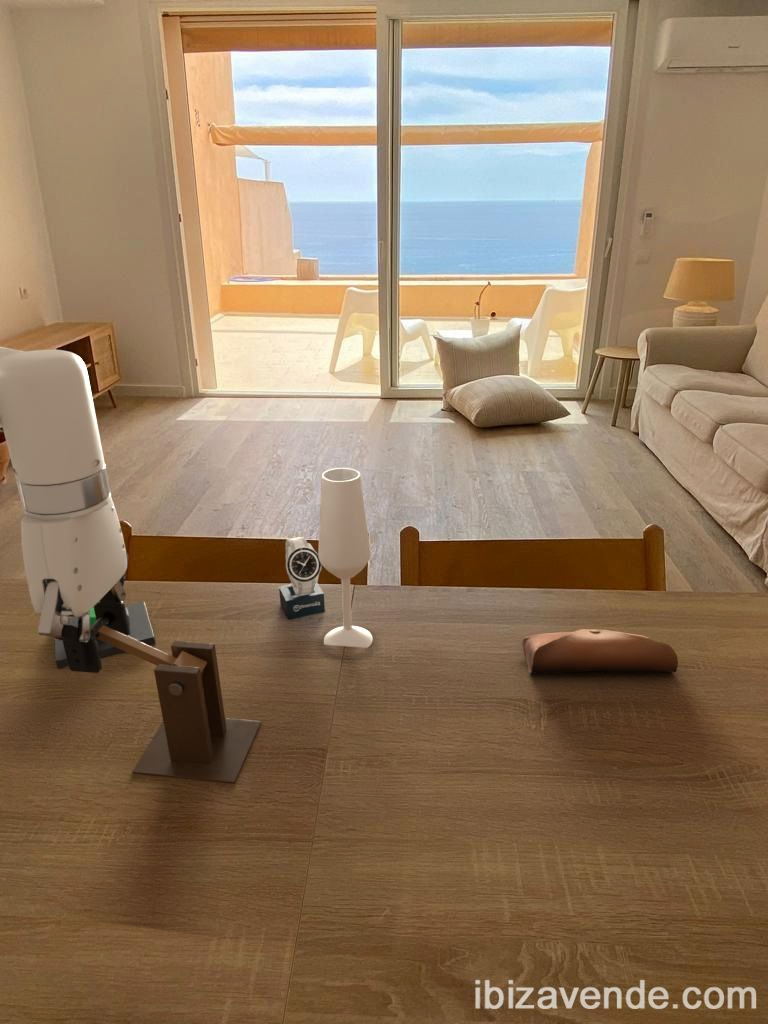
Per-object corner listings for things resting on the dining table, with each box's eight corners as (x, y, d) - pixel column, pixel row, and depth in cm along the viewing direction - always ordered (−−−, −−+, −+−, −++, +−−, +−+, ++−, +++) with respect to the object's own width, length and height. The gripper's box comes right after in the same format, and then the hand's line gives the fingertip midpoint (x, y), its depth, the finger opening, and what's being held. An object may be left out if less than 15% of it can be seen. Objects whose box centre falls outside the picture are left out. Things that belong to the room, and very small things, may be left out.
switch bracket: (133, 780, 72) (111, 680, 66) (169, 721, 80) (153, 627, 75) (235, 791, 70) (221, 689, 65) (262, 729, 78) (251, 634, 73)
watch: (291, 627, 97) (285, 557, 93) (277, 599, 104) (271, 533, 99) (329, 618, 99) (325, 550, 94) (313, 591, 106) (309, 526, 101)
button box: (59, 675, 88) (52, 649, 86) (56, 634, 96) (50, 610, 95) (156, 650, 92) (152, 625, 91) (146, 613, 101) (142, 590, 99)
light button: (86, 631, 90) (83, 620, 90) (84, 616, 94) (81, 605, 93) (118, 623, 92) (115, 612, 91) (115, 609, 95) (112, 598, 95)
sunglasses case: (653, 635, 93) (669, 612, 88) (665, 685, 89) (683, 665, 84) (518, 637, 93) (526, 614, 88) (525, 687, 89) (533, 667, 84)
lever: (75, 650, 68) (80, 633, 67) (100, 622, 73) (106, 605, 72) (186, 700, 69) (193, 684, 68) (205, 669, 73) (212, 653, 72)
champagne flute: (320, 628, 97) (310, 467, 87) (368, 623, 98) (363, 463, 88) (326, 657, 91) (316, 487, 81) (377, 650, 92) (373, 482, 82)
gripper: (77, 456, 72) (108, 606, 79) (-36, 527, 56) (16, 704, 64) (145, 458, 71) (170, 610, 78) (49, 531, 55) (92, 711, 63)
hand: (101, 651), depth 71 cm, fingers closed on lever, 5 cm apart
